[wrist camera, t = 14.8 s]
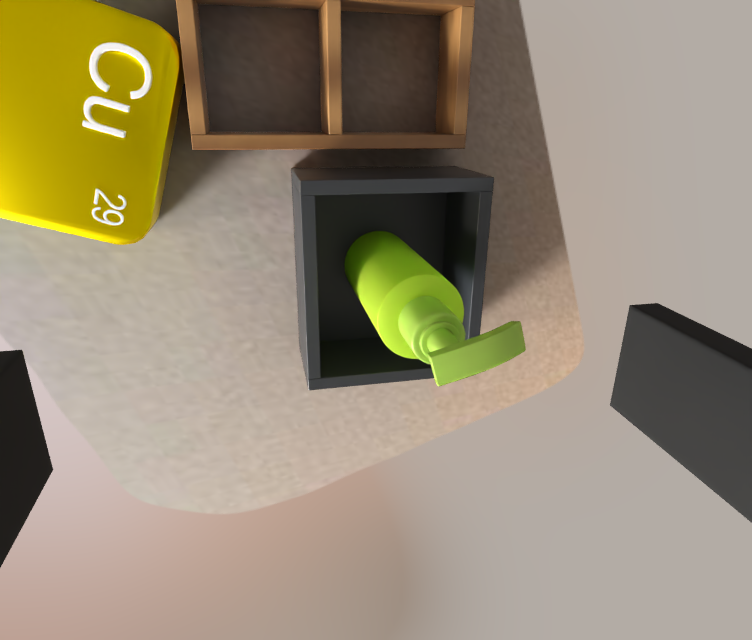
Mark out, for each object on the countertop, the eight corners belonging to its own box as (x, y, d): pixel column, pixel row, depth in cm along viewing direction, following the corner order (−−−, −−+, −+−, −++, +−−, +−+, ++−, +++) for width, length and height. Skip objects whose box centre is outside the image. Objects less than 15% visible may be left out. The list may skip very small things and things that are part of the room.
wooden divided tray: (181, -14, 37) (172, -28, 33) (453, 1, 41) (476, -10, 37) (198, 145, 41) (192, 149, 37) (445, 144, 45) (465, 148, 41)
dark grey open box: (291, 168, 43) (299, 180, 36) (455, 166, 46) (494, 177, 39) (299, 348, 49) (308, 390, 42) (444, 336, 52) (476, 374, 45)
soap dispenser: (427, 279, 48) (535, 384, 30) (355, 305, 48) (421, 427, 29) (411, 217, 46) (518, 290, 28) (335, 243, 45) (393, 336, 27)
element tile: (-53, -47, 34) (-98, -69, 30) (192, 40, 38) (184, 31, 34) (-66, 186, 38) (-107, 196, 34) (155, 239, 43) (144, 254, 38)
